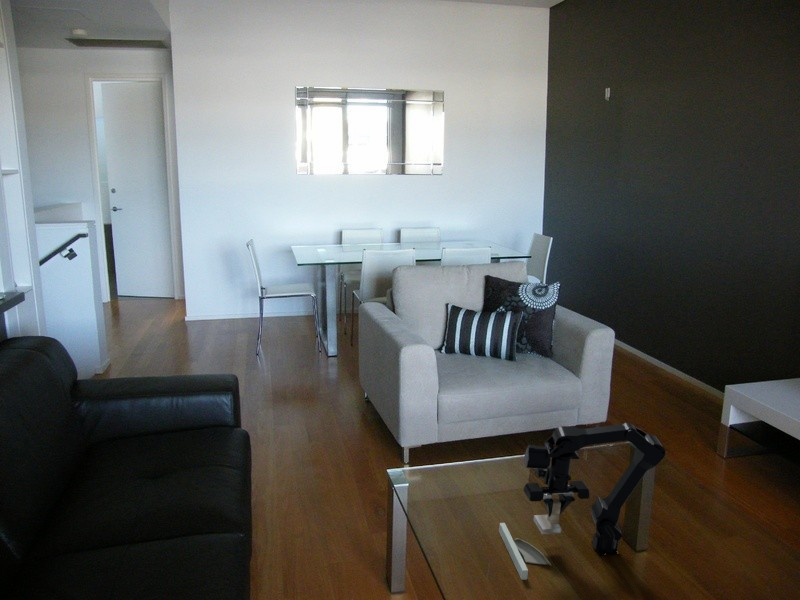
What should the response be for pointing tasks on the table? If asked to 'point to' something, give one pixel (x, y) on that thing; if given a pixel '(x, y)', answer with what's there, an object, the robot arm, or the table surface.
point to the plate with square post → (549, 520)
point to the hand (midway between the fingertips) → (553, 515)
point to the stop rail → (513, 551)
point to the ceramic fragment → (530, 553)
